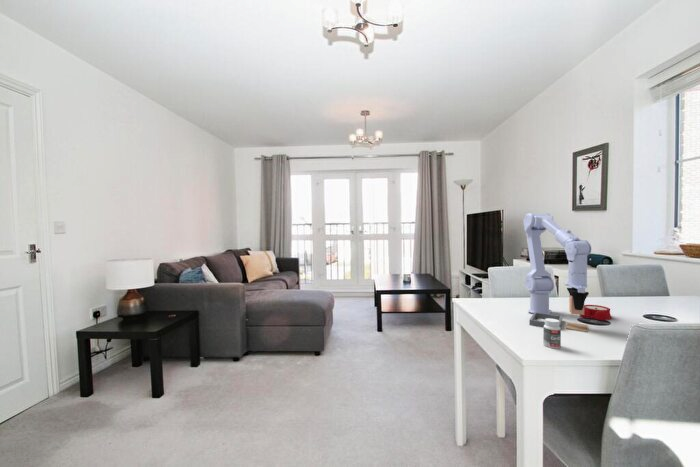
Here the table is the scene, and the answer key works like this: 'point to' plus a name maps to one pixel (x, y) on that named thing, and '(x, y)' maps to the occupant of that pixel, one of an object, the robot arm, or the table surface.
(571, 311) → the block
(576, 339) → the table surface
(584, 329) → the walnut pad
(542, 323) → the gray rectangular frame
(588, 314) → the alarm clock
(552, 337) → the pill bottle
